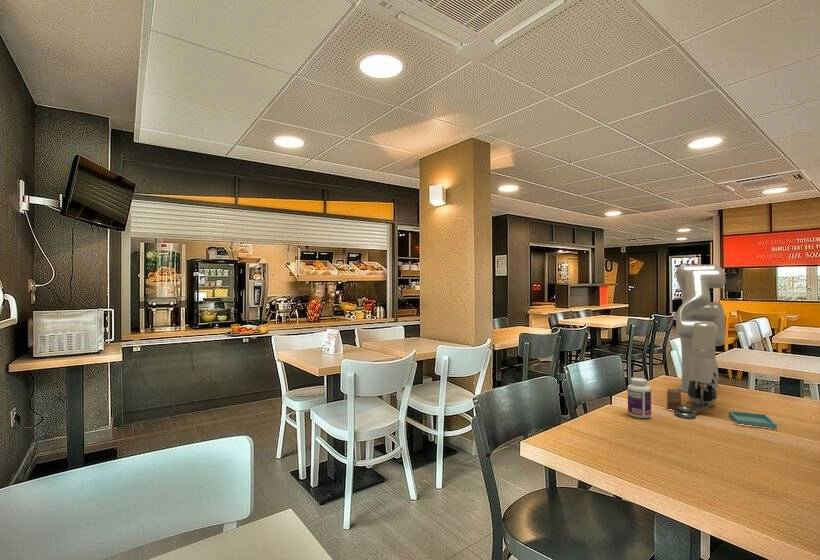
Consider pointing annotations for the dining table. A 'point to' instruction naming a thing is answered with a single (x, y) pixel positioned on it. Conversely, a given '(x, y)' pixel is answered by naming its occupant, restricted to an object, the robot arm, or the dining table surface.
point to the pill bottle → (639, 398)
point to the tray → (752, 419)
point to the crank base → (684, 414)
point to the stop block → (673, 399)
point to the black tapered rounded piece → (692, 394)
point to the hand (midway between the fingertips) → (704, 399)
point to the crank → (690, 409)
